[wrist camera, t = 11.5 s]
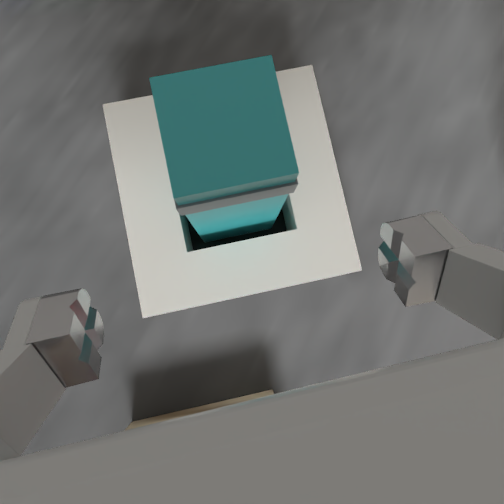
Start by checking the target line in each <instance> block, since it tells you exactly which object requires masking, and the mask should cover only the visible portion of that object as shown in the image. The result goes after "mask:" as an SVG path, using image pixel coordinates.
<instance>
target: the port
mask: <svg viewBox="0 0 504 504" xmlns="http://www.w3.org/2000/svg"><path fill="white" fill-rule="evenodd" d="M276 76H277V80H278V84H279V89H280V93H281V97H282V101H283V106H284V110H285V114H286V119H287V123H288V127H289V131H290V136H291V140H292V144H293V148H294V153H295V157H296V161H297V166H298V170H299V174H298V176H297V180H298V185H297V187H296V189H295V191H294V193H290V194H288V196H287V198H286V200H285V202H284V204H283V206H282V211H283V216H284V220H285V224H286V229H287V231H286V232H281V233H276V234H271V235H267V236H262V237H257V238H252V239H248V240H243V241H238V242H233V243H229V244H224V245H219V246H214V247H210V248H205V249H200V250H195V251H193V247H192V242H191V237H190V232H189V227H188V222H187V217H186V216H185V215H183V216H181V215H180V213H179V212H178V211H177V210H176V206H175V201H174V198H173V193H172V189H171V184H170V179H169V174H168V169H167V164H166V159H165V154H164V149H163V144H162V139H161V134H160V129H159V124H158V119H157V114H156V109H155V104H154V99H153V95H150V96H145V97H139V98H134V99H129V100H123V101H118V102H113V103H108V104H103V109H104V115H105V120H106V125H107V130H108V136H109V141H110V146H111V152H112V157H113V162H114V168H115V173H116V178H117V184H118V189H119V194H120V199H121V205H122V210H123V215H124V221H125V226H126V231H127V237H128V242H129V247H130V253H131V258H132V263H133V268H134V274H135V279H136V284H137V290H138V295H139V300H140V306H141V311H142V316H143V318H146V317H151V316H155V315H160V314H165V313H169V312H174V311H178V310H183V309H187V308H192V307H197V306H201V305H206V304H210V303H215V302H220V301H224V300H229V299H233V298H238V297H243V296H247V295H252V294H256V293H261V292H265V291H270V290H275V289H279V288H284V287H288V286H293V285H298V284H302V283H307V282H311V281H316V280H321V279H325V278H330V277H334V276H339V275H343V274H348V273H353V272H357V271H362V268H361V264H360V260H359V256H358V252H357V248H356V244H355V239H354V235H353V231H352V227H351V223H350V219H349V215H348V210H347V206H346V202H345V198H344V194H343V190H342V186H341V182H340V177H339V173H338V169H337V165H336V161H335V157H334V153H333V149H332V144H331V140H330V136H329V132H328V128H327V124H326V120H325V116H324V111H323V107H322V103H321V99H320V95H319V91H318V87H317V83H316V78H315V74H314V70H313V66H312V65H309V66H303V67H298V68H293V69H288V70H282V71H277V72H276Z"/></svg>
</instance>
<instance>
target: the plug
mask: <svg viewBox="0 0 504 504" xmlns="http://www.w3.org/2000/svg"><path fill="white" fill-rule="evenodd" d="M149 80H150V85H151V89H152V94H153V99H154V104H155V109H156V114H157V119H158V124H159V129H160V134H161V139H162V144H163V149H164V154H165V159H166V164H167V169H168V174H169V179H170V184H171V189H172V193H173V198H174V201H175V206H176V210H177V211H178V212H179V213H180V215H181V216H183V215H185V216H186V217H187V218H188V220H189V221H190V223H191V224H192V225H193V227H194V228H195V230H196V231H197V233H198V234H199V235H200V237H201V238H202V240H203V241H204V243H206V242H210V241H215V240H220V239H225V238H229V237H234V236H239V235H244V234H248V233H253V232H258V231H263V230H267V229H271V228H272V226H273V224H274V222H275V220H276V218H277V216H278V214H279V212H280V210H281V208H282V206H283V204H284V202H285V200H286V198H287V196H288V194H290V193H294V191H295V189H296V187H297V185H298V180H297V176H298V174H299V170H298V166H297V161H296V157H295V153H294V148H293V144H292V140H291V136H290V131H289V127H288V123H287V119H286V114H285V110H284V106H283V101H282V97H281V93H280V89H279V84H278V80H277V76H276V71H275V67H274V63H273V59H272V55H268V56H262V57H257V58H252V59H246V60H241V61H236V62H230V63H225V64H220V65H214V66H209V67H204V68H198V69H193V70H188V71H182V72H177V73H172V74H166V75H161V76H156V77H150V78H149Z"/></svg>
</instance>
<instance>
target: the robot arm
mask: <svg viewBox="0 0 504 504" xmlns="http://www.w3.org/2000/svg"><path fill="white" fill-rule="evenodd" d="M380 236H381V237H382V239H383V240H384V242H383V243H382V244H381V245H380V247H379V249H378V260H379V265H380V268H381V270H382V273H383V274H384V276H385V277H386V279H387V280H389V281H391V282H394V283H395V287H394V291H395V292H396V294H397V295H398V297H399V298H400V300H401V301H402V303H403V304H404V305H405V307H409V306H414V305H419V304H424V303H429V302H433V301H436V303H437V304H439V305H441V306H442V307H444V308H446V309H447V310H449V311H451V312H452V313H454V314H456V315H457V316H459V317H461V318H462V319H464V320H466V321H467V322H469V323H471V324H473V325H474V326H476V327H478V328H479V329H481V330H483V331H484V332H486V333H488V334H489V335H491V336H493V337H494V338H496V339H498V340H494V341H490V342H486V343H481V344H477V345H473V346H469V347H465V348H461V349H457V350H453V351H449V352H445V353H440V354H436V355H432V356H428V357H424V358H420V359H416V360H412V361H408V362H404V363H400V364H395V365H391V366H387V367H383V368H379V369H375V370H371V371H367V372H363V373H359V374H355V375H350V376H346V377H342V378H338V379H334V380H330V381H326V382H322V383H318V384H314V385H310V386H305V387H301V388H297V389H293V390H289V391H285V392H281V393H277V394H273V395H269V396H264V397H260V398H256V399H252V400H248V401H244V402H240V403H236V404H232V405H228V406H223V407H219V408H215V409H211V410H207V411H203V412H199V413H195V414H191V415H187V416H182V417H178V418H174V419H170V420H166V421H162V422H158V423H154V424H150V425H146V426H142V427H137V428H133V429H129V430H125V431H121V432H117V433H113V434H109V435H105V436H101V437H96V438H92V439H88V440H84V441H80V442H76V443H72V444H68V445H64V446H60V447H56V448H51V449H47V450H43V451H39V452H35V453H31V454H27V455H23V456H21V455H22V453H23V452H24V450H25V449H26V447H27V446H28V444H29V443H30V441H31V440H32V438H33V437H34V435H35V434H36V433H37V431H38V430H39V428H40V427H41V425H42V424H43V422H44V421H45V419H46V418H47V416H48V415H49V413H50V412H51V411H52V409H53V408H54V406H55V405H56V403H57V402H58V400H59V399H60V397H61V396H62V394H63V393H64V391H65V390H66V389H65V388H66V387H70V386H74V385H77V384H81V383H85V382H89V381H93V380H97V379H99V373H100V365H101V356H100V354H99V352H98V349H99V348H100V347H101V346H102V345H103V340H104V330H103V323H102V320H101V317H100V315H99V313H98V311H97V310H96V309H94V308H92V307H90V299H91V298H90V297H89V295H88V293H87V292H86V290H85V289H82V288H81V289H76V290H70V291H65V292H60V293H55V294H50V295H45V296H41V297H36V298H31V299H26V300H23V301H22V302H21V303H20V304H19V306H18V309H17V311H16V314H15V317H14V320H13V322H12V325H11V328H10V330H9V333H8V336H7V338H6V341H5V344H4V346H3V349H2V350H1V351H0V504H504V252H503V251H500V250H497V249H495V248H492V247H489V246H486V245H483V244H480V243H477V244H473V243H472V242H471V241H470V240H469V239H468V238H466V237H465V236H464V235H463V234H462V233H461V232H460V231H459V230H458V229H457V228H456V227H455V226H454V225H453V224H452V223H451V222H450V221H449V220H448V219H447V218H446V217H445V216H443V215H442V214H441V213H440V212H438V211H432V212H428V213H424V214H420V215H418V216H413V217H408V218H404V219H399V220H395V221H390V222H386V223H383V225H382V227H381V231H380Z"/></svg>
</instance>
